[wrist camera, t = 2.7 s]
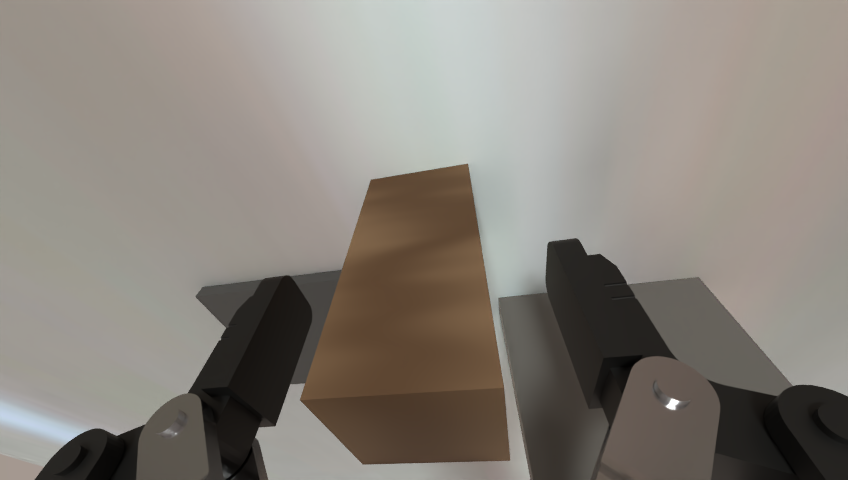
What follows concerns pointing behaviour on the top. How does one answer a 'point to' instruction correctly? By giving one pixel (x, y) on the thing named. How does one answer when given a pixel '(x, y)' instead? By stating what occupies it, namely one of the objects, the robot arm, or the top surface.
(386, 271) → the block
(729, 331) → the tile
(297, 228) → the top surface
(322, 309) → the mat
